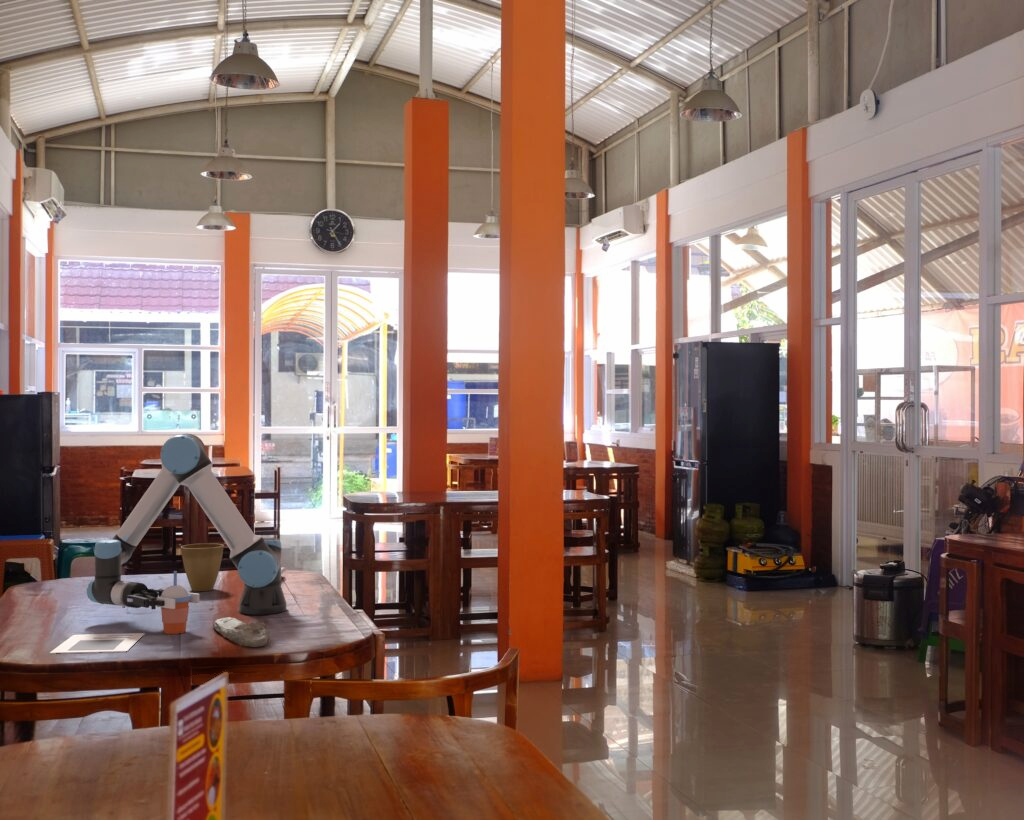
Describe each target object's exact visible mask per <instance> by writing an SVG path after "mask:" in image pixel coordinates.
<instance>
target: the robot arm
mask: <svg viewBox="0 0 1024 820" xmlns="http://www.w3.org/2000/svg"><path fill="white" fill-rule="evenodd" d="M206 451H207V450H206V445H205V443H204V442H203V440H202V439H201V438H199V436H197V435H195V434H192V433H181V434H180V433H179V434H175V435H173V436H171V437H169V438H168V439H166V440H165V442H164V443H163V445H162V446H161V449H160V453H159V454H160V455H159V456H160V460H161V470H160V471H159V473H158V474H157V475H156V477H155V478H154V480H152V483H151V484H150V485H149V487H148V488H147V490H146V491H145V492H144V493H143V495H142V496H141V498H140V500H139V501H138V502H137V504H136V505H135V507H134V508H133V509H132V511H131V512H130V514H129V515H128V516H127V518H126V520H125V521H124V522H123V524H122V525H121V526H120V527H119V529H118V531H117V532H116V534H115V535H114V536H113V537H112V539H102V540H97V541H96V542H95V544H94V552H93V554H94V579H91V580H90V582H89V583H88V585H87V588H86V596H87V598H88V599H89V600H90V601H91V602H92V603H97V604H101V605H109V606H110V605H112V606H118V607H119V606H120V607H121V608H122V609H125V608H126V607H127V608H134V609H140V608H141V607H142V608H146V609H148V608H151V610H156V608H161V607H162V608H170V609H175V599H170V598H162V597H160V596H161V595H162V593H163V591H164V590H165V589H166V588H159V589H154V588H148V586H147V585H146V584H145V583H142V582H137V581H136V582H135V581H129V580H128V581H127V580H121V579H122V573H121V571H122V565H123V564H126V563H127V562H128V561H129V560H130V559H131V557H132V555H133V554H134V553H133V552H135V550H136V548H137V546H138V545H139V544H140V542H141V541H142V539H143V538H144V536H145V535H146V534H147V532H148V531H149V529H150V528H151V526H152V525H153V524H154V522H155V521H156V520H157V518H158V517H159V515H160V514H161V513H162V511H163V510H164V509H165V507H166V505H167V504H168V502H169V501H170V500H171V498H172V497H173V496H174V494H175V493H176V492H177V490H178V488H179V487H180V486H185V487H187V488H188V489H189V491H190V492H191V495H192V496H193V497H194V498H195V500H196V501H197V503H198V504H199V506H200V507H201V509H202V511H203V512H204V514H205V515H206V516H207V517H208V519H209V521H210V522H211V523H212V525H213V527H214V528H215V530H216V531H217V532H218V533H219V536H221V538H222V540H223V541H224V543H225V544H226V545H227V547H228V549H229V550H230V553H229V559H230V561H231V562H232V564H233V566H235V568H236V569H237V573H238V576H239V579H241V581H242V583H244V587H243V591H242V594H241V597H240V600H239V603H238V612H239V613H241V614H244V615H255V616H256V615H257V616H260V615H273V614H279V613H284V612H285V611H287V600H286V597H285V595H284V591H283V587H282V550H283V548H282V542H281V541H280V540H278V539H267V540H266V539H264V537H263V536H262V535H258V534H255V533H254V532H253V530H252V529H251V527H250V526H249V524H248V523H247V521H246V520H245V519H244V516H243V515H242V514H241V513H240V511H239V510H238V508H237V506H236V505H235V504H234V502H233V501H232V499H231V497H230V496H229V495H228V493H227V491H226V490H225V488H224V487H223V486H222V485H221V483H220V482H219V480H218V478H217V477H216V476H215V474H214V472H213V470H212V469H213V462H212V461H211V459H210V458H209V455H207V453H206ZM188 593H189V594H190V595H191V600H190V601H189V603H191V604H199V603H200V593H194V592H188Z"/></svg>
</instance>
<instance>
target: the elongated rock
mask: <svg viewBox="0 0 1024 820" xmlns="http://www.w3.org/2000/svg"><path fill="white" fill-rule="evenodd" d="M212 624H213V625H212V627H213V629H215V631H216V632H217V633H218V634H220V635H222V637H223V638H226V639H228V640H230V642H233V643H234V644H238V645H239V646H241V647H252V648H257V647H262V646H267V645H268V643H270V641H271V635H270V631H268V630H267V629H266V627H267V625H266V623H264V622H256V623H254V622H251V623H250V624H249V623H245V622H243V621H241V620H240V619H237V618H236V617H232V616H228V617H221V618H217V619H215V621H214V622H213V623H212Z"/></svg>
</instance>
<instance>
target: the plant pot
mask: <svg viewBox="0 0 1024 820" xmlns="http://www.w3.org/2000/svg"><path fill="white" fill-rule="evenodd" d="M224 545H225V544H223V543H222V544H221V543H192V544H185V545H180V551H181V558H182V563H183V567H184V571H185V575H186V578H187V581H188V584H189V586H190V589H191V591H193V592H208V591H212V590H213V589H214V587H215V584H216V582H217V579H218V575H219V572H220V568H221V563H222V559H223V554H224V547H225V546H224Z"/></svg>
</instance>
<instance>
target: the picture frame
mask: <svg viewBox="0 0 1024 820" xmlns="http://www.w3.org/2000/svg"><path fill="white" fill-rule="evenodd" d="M144 634H145V635H146V632H142V633H141V632H138V633H137V632H135V633H133V632H132V633H131V632H130V633H94V634H93V633H92V634H91V633H90V634H73V635H70V637H69V638H68V639H66V640H65V641H63V642H62V643H60V645H58V646H56V647H55V648H54V649H53V650H51V651H50V652H49V654H51V655H53V654H54V655H56V653H61V654H89V653H90V654H95V653H98V654H99V652H102V653H127V652H129V651H130V650H131V649H132V648H133V647H134V646H135V645H136V644H137V643H138V642H139V641H140V640H141V639H142V638H143V637H144V636H145V635H144ZM143 635H144V636H143ZM142 636H143V637H142ZM141 637H142V638H141ZM140 638H141V639H140ZM139 639H140V640H139ZM138 640H139V641H138ZM137 641H138V642H137ZM136 642H137V643H136ZM135 643H136V644H135ZM134 644H135V645H134ZM133 645H134V646H133ZM132 646H133V647H132ZM131 647H132V648H131ZM130 648H131V649H130ZM129 649H130V650H129ZM126 651H127V652H126Z"/></svg>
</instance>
